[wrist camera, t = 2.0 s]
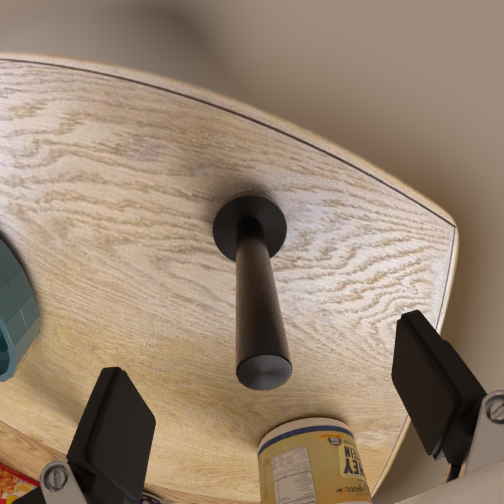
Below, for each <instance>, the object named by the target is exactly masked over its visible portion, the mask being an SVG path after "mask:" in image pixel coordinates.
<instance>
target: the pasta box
mask: <svg viewBox="0 0 504 504" xmlns="http://www.w3.org/2000/svg"><path fill="white" fill-rule="evenodd" d="M38 486H40V482H38V481H36V480H33V479H31V478H29V477H27V476H25V475H23V474H21V473H19V472H17V471H15V470H13V469H11V468H9V467H7V466H5V465H4V464H2V463H0V504H11V503H12V502H13V501H14V500H16V499H17V498H19V497H21V496H23V495H25V494H26V493H28V492H30V491H31V490H33V489H35V488H37V487H38Z"/></svg>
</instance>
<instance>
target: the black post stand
mask: <svg viewBox="0 0 504 504" xmlns="http://www.w3.org/2000/svg"><path fill="white" fill-rule="evenodd" d="M286 234H287V225H286V220H285V217H284V215H283V212H282V210H281V209H280V207H279V205H278V204H277V203H276V202H275V201H274V200H273V199H272V198H270V197H269V196H267V195H265V194H262V193H259V192H254V191H245V192H240V193H237V194H234V195H232V196H231V197H229V198H228V199H226V200H225V201H224V202H223V203H222V204H221V206H220V207H219V209H218V210H217V213H216V215H215V219H214V223H213V237H214V240H215V243H216V245H217V247H218V248H219V250H220V251H221V252H222V253H223V254H224V255H225V256H226V257H227V258H229V259H230V260H232V261H235V262H236V376H237V378H238V380H239V381H240V382H241V383H242V384H243V385H244V386H246V387H248V388H250V389H254V390H271V389H274V388H277V387H279V386H281V385H283V384H284V383H285V382H286V381H287V380H288V379H289V378H290V376H291V374H292V363H291V358H290V353H289V348H288V343H287V338H286V334H285V329H284V324H283V319H282V314H281V309H280V305H279V300H278V295H277V290H276V286H275V281H274V276H273V272H272V267H271V262H270V258H271V257H273V256H274V255H275V254H276V253H277V252H278V251H279V250H280V249H281V247H282V246H283V244H284V241H285V238H286Z"/></svg>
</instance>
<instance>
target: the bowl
mask: <svg viewBox="0 0 504 504" xmlns="http://www.w3.org/2000/svg"><path fill="white" fill-rule="evenodd" d="M38 335H39V311H38V307H37V303H36V300H35V296H34V292H33V290H32V288H31V286H30V284H29V282H28V279H27V277H26V275H25V273H24V271H23V269H22V267H21V265H20V264H19V263H18V261H17V260H16V258H15V257H14V255H13V254H12V252H11V251H10V249H9V248H8V246H7V245H6V244H5V243H4V242H3V241H2V240H1V239H0V382H5V381H6V380H8V379H10V378H12V377H13V376H14V374H15V373H16V371H17V370H18V368H19V367H20V365H21V364H22V362H23V361H24V359H25V358H26V356H27V355H28V353H29V352H30V350H31V349H32V347H33V346H34V344H35V342H36V340H37V337H38Z"/></svg>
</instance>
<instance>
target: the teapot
mask: <svg viewBox="0 0 504 504" xmlns="http://www.w3.org/2000/svg"><path fill="white" fill-rule="evenodd" d="M137 504H162V500H161V499H160V498H158V497H156V496H154V495H152V494H149V493H146V492H143V493H142V498H141V499H140V500H138V503H137Z"/></svg>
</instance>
